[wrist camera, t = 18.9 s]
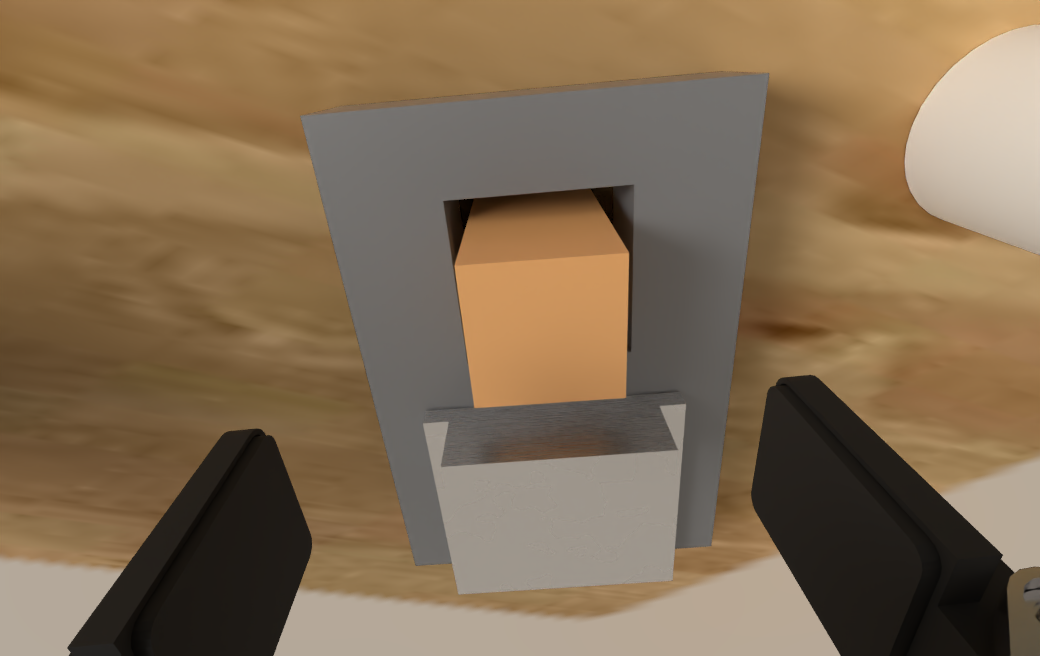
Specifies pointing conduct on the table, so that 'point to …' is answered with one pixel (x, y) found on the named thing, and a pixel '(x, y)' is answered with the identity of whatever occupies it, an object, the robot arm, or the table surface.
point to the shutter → (559, 491)
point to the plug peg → (543, 300)
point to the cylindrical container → (983, 142)
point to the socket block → (534, 169)
